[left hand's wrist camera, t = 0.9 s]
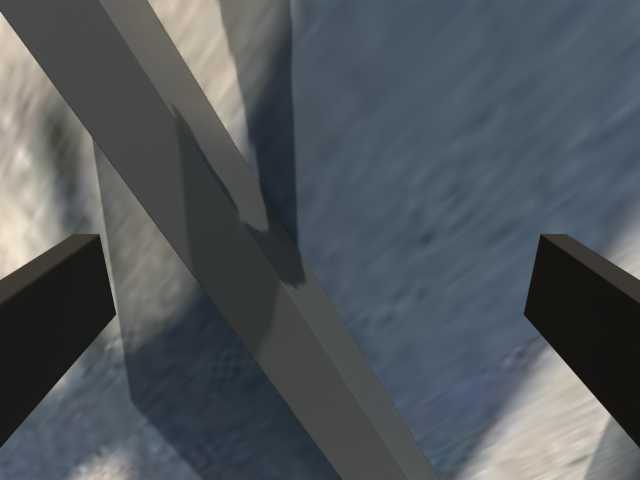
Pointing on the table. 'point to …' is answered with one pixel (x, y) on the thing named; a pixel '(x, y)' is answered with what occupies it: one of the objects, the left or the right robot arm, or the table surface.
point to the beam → (218, 221)
